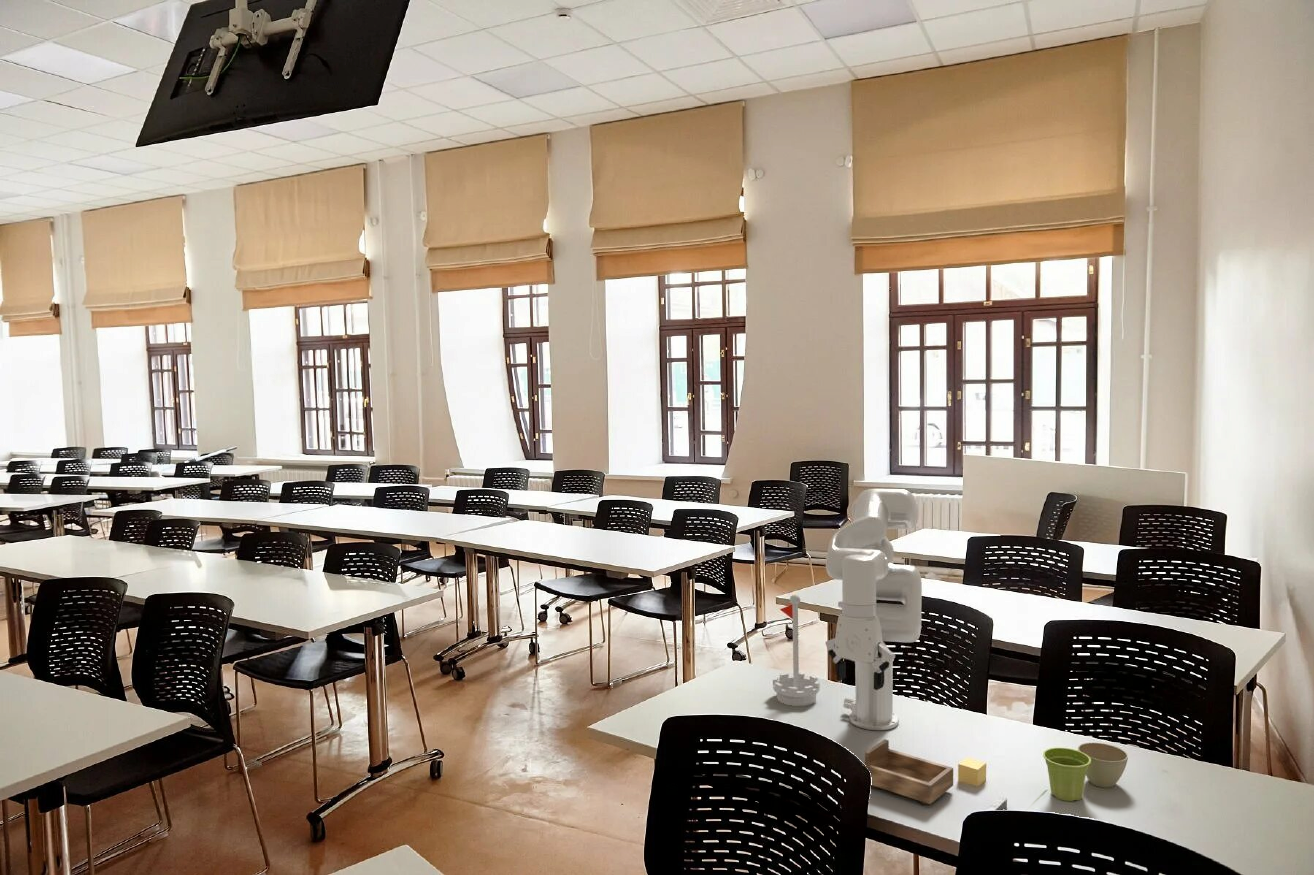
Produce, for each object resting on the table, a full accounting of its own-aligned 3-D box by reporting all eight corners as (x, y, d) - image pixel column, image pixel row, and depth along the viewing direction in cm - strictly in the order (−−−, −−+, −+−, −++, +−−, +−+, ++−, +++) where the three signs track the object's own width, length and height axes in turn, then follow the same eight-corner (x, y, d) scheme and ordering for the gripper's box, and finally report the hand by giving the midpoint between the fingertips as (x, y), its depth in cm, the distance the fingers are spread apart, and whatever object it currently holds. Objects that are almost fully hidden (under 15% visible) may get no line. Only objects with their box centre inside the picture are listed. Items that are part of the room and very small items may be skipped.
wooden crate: (862, 787, 203) (862, 753, 202) (887, 770, 211) (886, 737, 210) (930, 809, 192) (930, 774, 191) (953, 791, 200) (953, 757, 199)
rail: (862, 789, 203) (862, 779, 203) (887, 772, 211) (886, 762, 211) (985, 830, 184) (985, 819, 184) (1006, 810, 192) (1006, 799, 192)
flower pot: (1107, 797, 197) (1108, 765, 196) (1067, 779, 205) (1068, 748, 205) (1137, 786, 201) (1138, 755, 201) (1097, 769, 210) (1097, 738, 209)
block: (958, 783, 205) (958, 764, 204) (966, 776, 208) (966, 757, 208) (977, 789, 202) (977, 769, 201) (986, 782, 205) (986, 763, 205)
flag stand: (828, 697, 259) (827, 593, 256) (803, 711, 249) (802, 603, 246) (789, 687, 267) (788, 586, 265) (764, 700, 257) (762, 595, 255)
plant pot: (1087, 809, 191) (1087, 769, 191) (1039, 799, 196) (1039, 760, 196) (1092, 791, 199) (1093, 753, 199) (1046, 781, 204) (1047, 744, 204)
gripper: (817, 607, 211) (818, 680, 212) (885, 619, 199) (885, 696, 200) (835, 601, 216) (835, 672, 217) (902, 612, 204) (902, 687, 205)
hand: (859, 683), depth 209 cm, fingers open, 9 cm apart
